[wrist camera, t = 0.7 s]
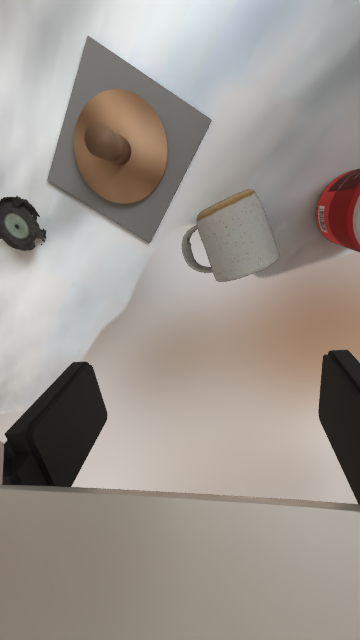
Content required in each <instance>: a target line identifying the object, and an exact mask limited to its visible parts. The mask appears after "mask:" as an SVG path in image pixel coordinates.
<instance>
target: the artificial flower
mask: <svg viewBox="0 0 360 640" xmlns="http://www.w3.org/2000/svg"><path fill="white" fill-rule="evenodd" d="M32 215H33V216H32ZM37 216H38V217H40V216H39V215H38V213H37V212H36V210H35V209H34V207H32V205H31V204H29V203H28V201H27V200H26V199H25V200H24V199H21V198H20V197H18V196H16V197H7V198H5V197H4V198H3V199H1V201H0V239H3V240H4V241H5V242H6V243H7V244H8V245H10V246H11V247H13V248H15V249H19V250H23V251H26V250H32V249H34V248H35V246H36V245H35V243H34V240H35V239H36V238H42V237H44V238H46V236H45V234H46V231H45V230H44V229H43V230H41V229H40V228H39V224H38V223H37V222H36V220H37ZM42 241H44V239H43V238H42ZM44 242H45V241H44ZM41 245H42V244H41Z"/></svg>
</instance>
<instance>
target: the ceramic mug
mask: <svg viewBox="0 0 360 640" xmlns="http://www.w3.org/2000/svg"><path fill="white" fill-rule="evenodd" d="M197 229H198V231H199V234H200V237H201V240H202V242H203V244H204V247H205V250H206V253H207V256H208V259H209V262H210V265H211V267H205V266H201V265H199V264H198V263H197V262H196V260H195V259H194V257H193V253H192V250H191V244H190V242H189V240H190V237H191V235H192V233H193V232H195V230H197ZM182 252H183V256H184V258H185V260H186V262H187V264H188V265H189V266H190V267H191V268H193V269H194V270H196V271H199V272H204V273H211V272H213V274H214V276H215V279H216V280H217V281H218V282H226V281H231V280H235V279H239V278H242V277H245V276H248V275H250V274H253V273H255V272H257V271H260V270H262V269H264V268H266V267H268V266H270V265H271V264H273V263H274V262H275V261H277V259H278V258H279V252H278V249H277V246H276V244H275V240H274V237H273V235H272V232H271V229H270V226H269V224H268V221H267V218H266V215H265V212H264V209H263V206H262V204H261V201H260V200H259V198H258V196H257V194H256V193H255V192H254V191H253V190H250V189H248V190H245V191H242V192H240V193H238V194H235V195H233V196H231V197H229V198H227V199H225V200H223V201H221V202H219V203H217V204H215V205H213V206H211V207H209V208H207V209H205V210H204V211H202V212H200V213H199V214H198V216H197V225H196V226H194V227H192V228H191V229H190V230H188V231H187V233H186V234H185V235H184V237H183V241H182Z"/></svg>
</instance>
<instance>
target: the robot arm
mask: <svg viewBox="0 0 360 640" xmlns="http://www.w3.org/2000/svg"><path fill="white" fill-rule="evenodd" d="M319 419H320V422H321V424H322V426H323V428H324V430H325V433H326V435H327V437H328V439H329V441H330V443H331V446H332V448H333V450H334V452H335V454H336V456H337V459H338V461H339V463H340V465H341V467H342V469H343V472H344V474H345V476H346V478H347V480H348V482H349V484H350V487H351V489H352V491H353V493H354V495H355V497H356V499H357V502H358V504H346V503H333V502H321V501H307V500H294V499H277V498H260V497H244V496H227V495H211V494H194V493H176V492H158V491H156V492H155V491H139V490H120V489H100V488H99V489H98V488H79V487H71V486H72V484H73V482H74V480H75V478H76V477H77V475H78V473H79V471H80V469H81V467H82V465H83V463H84V461H85V460H86V458H87V456H88V454H89V452H90V450H91V449H92V447H93V445H94V443H95V441H96V439H97V437H98V436H99V434H100V432H101V430H102V428H103V426H104V424H105V422H106V420H107V411H106V408H105V405H104V402H103V398H102V395H101V392H100V389H99V385H98V382H97V379H96V376H95V373H94V370H93V367H92V366H91V365H89V363H88V362H73V363H72V364H71V365H70V366H69V367H68V368H67V369H66V370H65V371H64V372H63V373H62V374H61V375H60V376H59V377H58V378H57V379H56V381H55V382H54V383H53V384H52V385H51V386H50V387H49V388H48V389H47V390H46V391H45V392H44V393H43V394H42V395H41V396H40V397H39V398H38V399H37V400H36V402H35V403H34V404H33V405H32V406H31V407H30V408H29V409H28V410H27V411H26V412H25V413H24V414H23V415H22V416H21V417H20V418H19V419H18V420H17V421H16V422H15V424H14V425H13V426H12V427H11V428H10V429H9V430H8V431H7V432H6V433H5V436H6V437H7V442H6V443H5V444H3V443H2V442H1V441H0V640H360V363H359V362H358V361H357V359H356V358H355V357H354V356H353V355H352V354H351V353H350V352H349V351H348V350H333V351H329V353H328V355H324V356H323V363H322V375H321V387H320V399H319Z"/></svg>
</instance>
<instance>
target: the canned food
mask: <svg viewBox="0 0 360 640" xmlns="http://www.w3.org/2000/svg"><path fill="white" fill-rule="evenodd" d="M316 221H317V225H318V228H319V230H320V231H321V233H322V234H323V235H324V236H325V238H327V239H328V240H330V241H331V242H334V243H336V244H339V245H341V246H344V247H347V248H350V249H352V250H355V251H358V252H360V169H357V170H353V171H349V172H346V173H344V174H342V175H340V176H339V177H337V178H336V179H334V180H333V181H332V182H331V183H330V184H329V185H328V186H327V187H326V189H325V190H324V191H323V193H322V195H321V197H320V199H319V201H318V204H317V208H316Z"/></svg>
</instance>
